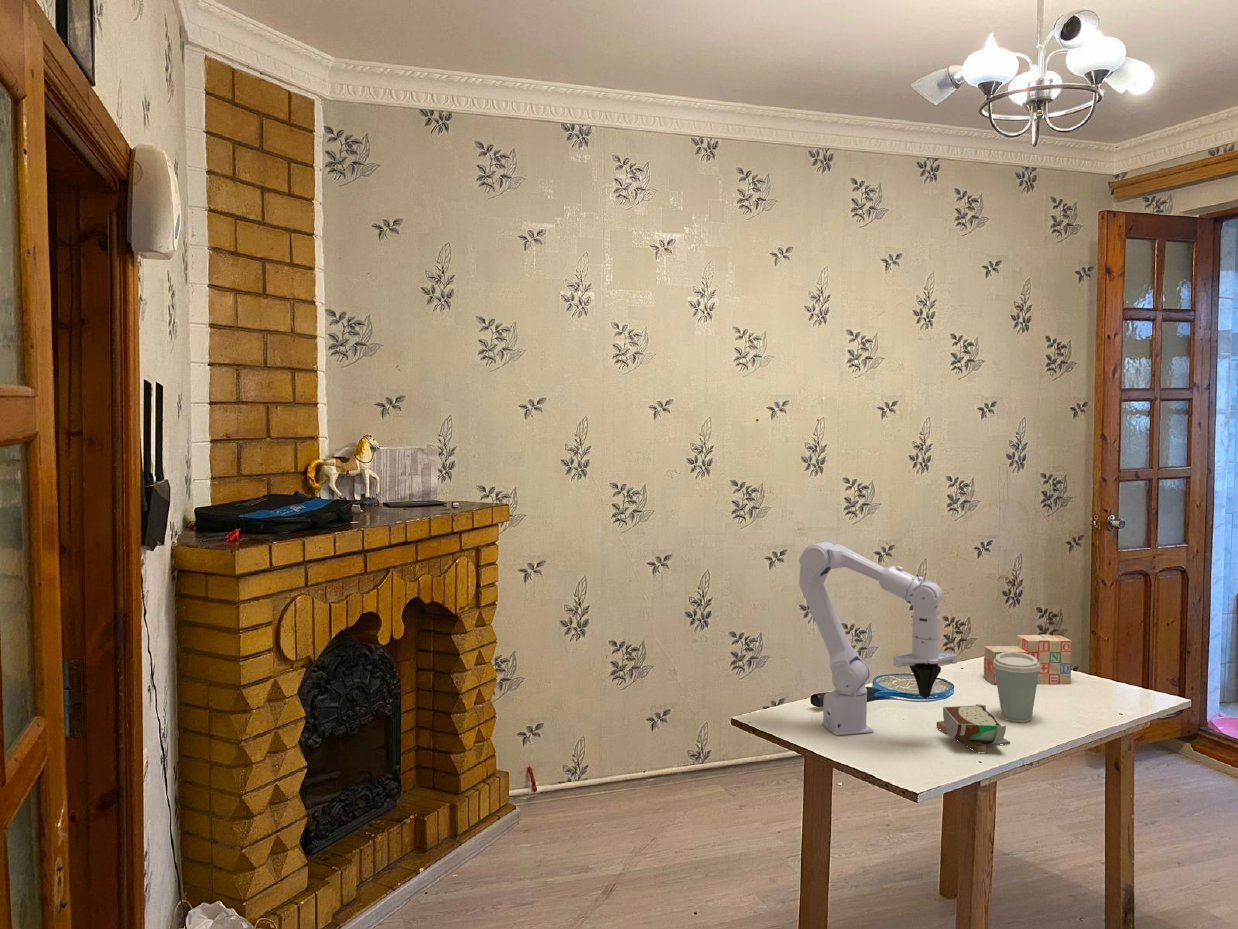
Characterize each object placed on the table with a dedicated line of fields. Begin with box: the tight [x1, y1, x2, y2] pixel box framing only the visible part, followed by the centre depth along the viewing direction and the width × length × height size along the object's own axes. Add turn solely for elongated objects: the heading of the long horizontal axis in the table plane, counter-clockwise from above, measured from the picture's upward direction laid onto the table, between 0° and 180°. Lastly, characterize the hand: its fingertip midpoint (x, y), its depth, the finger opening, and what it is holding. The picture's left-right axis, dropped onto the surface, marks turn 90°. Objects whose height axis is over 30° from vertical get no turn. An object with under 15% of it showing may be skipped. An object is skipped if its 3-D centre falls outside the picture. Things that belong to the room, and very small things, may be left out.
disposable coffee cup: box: [993, 652, 1041, 723], centre depth 219 cm, size 11×11×15 cm
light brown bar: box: [936, 720, 987, 754], centre depth 206 cm, size 2×16×2 cm, turn 12°
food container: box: [942, 703, 1007, 744], centre depth 203 cm, size 12×6×10 cm
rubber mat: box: [977, 737, 1011, 747], centre depth 208 cm, size 8×12×1 cm, turn 12°
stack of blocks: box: [983, 634, 1073, 686], centre depth 249 cm, size 21×6×12 cm, turn 92°
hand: (924, 696), depth 204 cm, fingers closed
